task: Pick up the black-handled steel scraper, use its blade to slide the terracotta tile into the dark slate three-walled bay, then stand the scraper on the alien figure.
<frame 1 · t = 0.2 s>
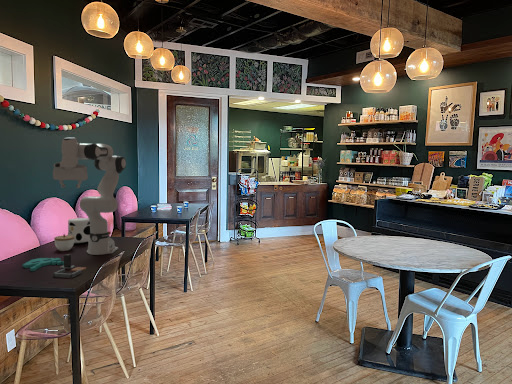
hand: (70, 187, 226), 47 cm above the table, tool pointing down, fingers open, 8 cm apart
tile: (78, 270, 220), on the table
alien figure: (43, 265, 229), on the table
bay: (68, 274, 210), on the table
milk container: (79, 243, 290), on the table
lidded bowl: (64, 250, 267), on the table
scraper: (67, 267, 224), on the table
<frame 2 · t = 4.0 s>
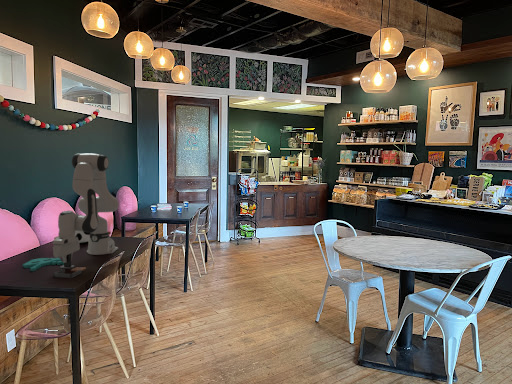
hand: (67, 261, 224), 4 cm above the table, tool pointing down, fingers closed on scraper, 2 cm apart
scraper: (67, 267, 224), on the table, touching gripper
everything else where it was.
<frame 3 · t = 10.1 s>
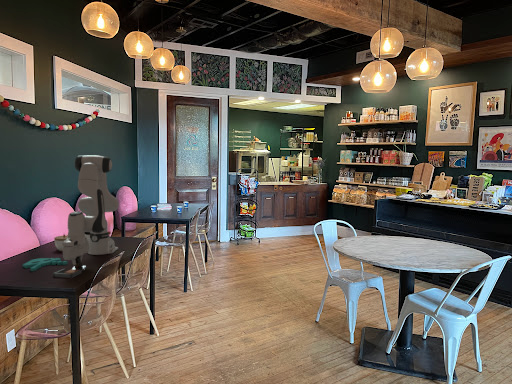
hand: (77, 263, 218), 4 cm above the table, tool pointing down, fingers closed on scraper, 3 cm apart
tile: (72, 273, 215), on the table, touching scraper
scraper: (79, 268, 220), point 1 cm above the table, tilted 20°, touching gripper, tile
everything else where it was.
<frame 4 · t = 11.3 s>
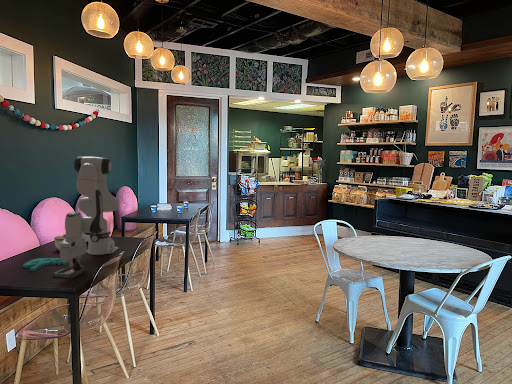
hand: (74, 265, 215), 4 cm above the table, tool pointing down, fingers closed on scraper, 4 cm apart
tile: (71, 274, 213), on the table
scraper: (77, 268, 218), point 1 cm above the table, tilted 36°, touching gripper
everything else where it was.
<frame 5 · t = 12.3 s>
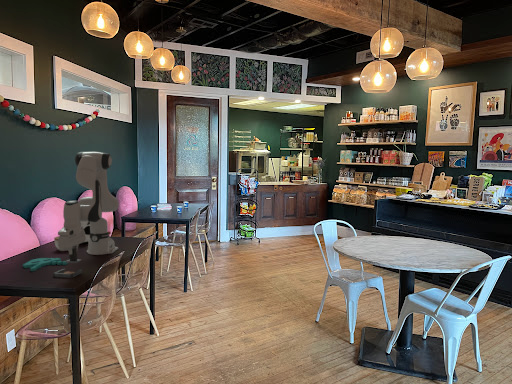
hand: (73, 253, 215), 11 cm above the table, tool pointing down, fingers closed on scraper, 2 cm apart
tile: (68, 275, 211), on the table
scraper: (73, 261, 215), point 6 cm above the table, touching gripper
everything else where it was.
when the fingers open (7 cm above the table, at t = 16.7 s): scraper stays where it is, resting on alien figure.
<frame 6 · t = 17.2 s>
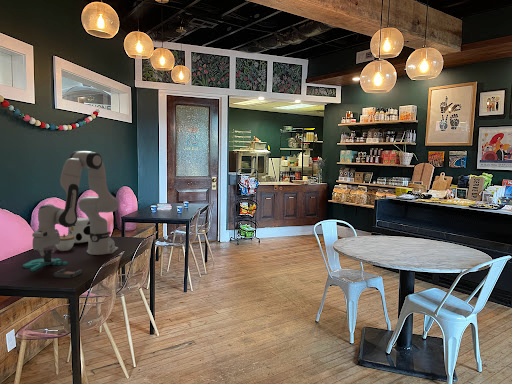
hand: (47, 254, 228), 7 cm above the table, tool pointing down, fingers open, 7 cm apart
alien figure: (43, 266, 229), on the table, touching scraper
scraper: (47, 262, 229), point 1 cm above the table, touching alien figure
everything else where it was.
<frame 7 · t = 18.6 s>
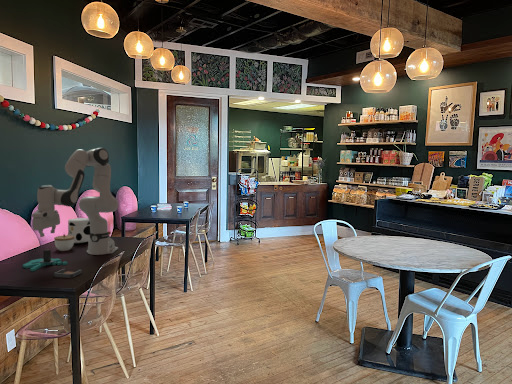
hand: (47, 234, 228), 18 cm above the table, tool pointing down, fingers open, 8 cm apart
nothing on the table moved.
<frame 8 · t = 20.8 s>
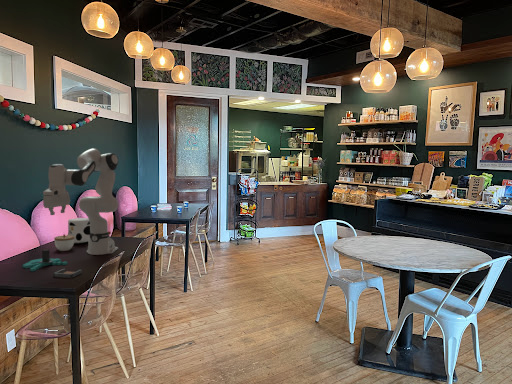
hand: (57, 213, 228), 31 cm above the table, tool pointing down, fingers open, 8 cm apart
nothing on the table moved.
at the end: tile 1.2 cm off-centre on the bay, point -0.6 cm above the bay's base; scraper touching alien figure; scraper tilted 0° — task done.
